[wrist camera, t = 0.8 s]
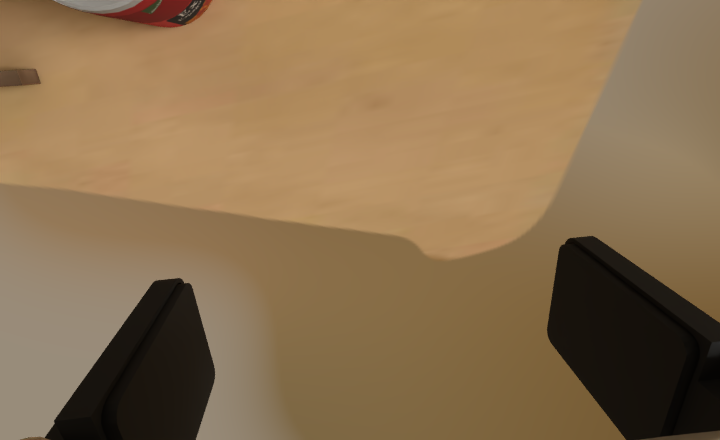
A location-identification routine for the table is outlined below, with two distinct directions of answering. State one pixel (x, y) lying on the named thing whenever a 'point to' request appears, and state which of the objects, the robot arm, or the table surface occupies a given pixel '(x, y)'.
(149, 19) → the canned food
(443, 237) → the table surface
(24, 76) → the walnut frame
